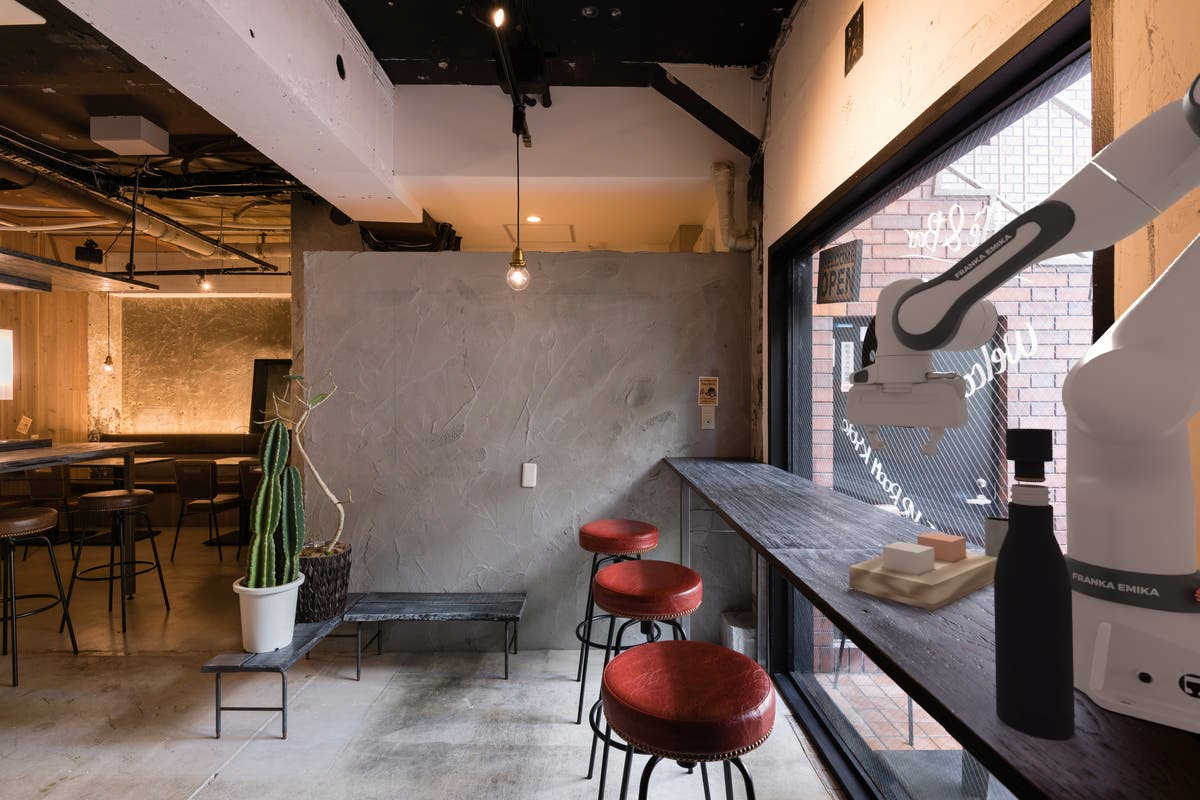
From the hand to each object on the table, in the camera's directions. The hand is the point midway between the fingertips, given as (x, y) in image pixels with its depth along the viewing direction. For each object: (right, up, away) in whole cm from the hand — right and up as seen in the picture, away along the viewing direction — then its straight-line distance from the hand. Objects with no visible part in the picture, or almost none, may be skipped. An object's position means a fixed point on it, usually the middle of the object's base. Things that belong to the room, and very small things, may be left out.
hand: (902, 452), depth 101 cm
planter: (+25, -25, +12) cm, 37 cm away
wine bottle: (-8, -24, -42) cm, 49 cm away
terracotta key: (+12, -21, +8) cm, 25 cm away
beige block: (+1, -21, 0) cm, 21 cm away
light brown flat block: (+7, -24, +4) cm, 26 cm away
